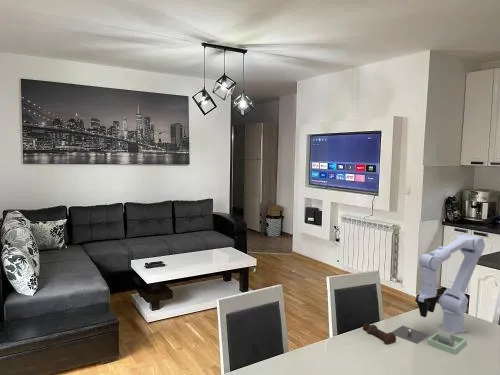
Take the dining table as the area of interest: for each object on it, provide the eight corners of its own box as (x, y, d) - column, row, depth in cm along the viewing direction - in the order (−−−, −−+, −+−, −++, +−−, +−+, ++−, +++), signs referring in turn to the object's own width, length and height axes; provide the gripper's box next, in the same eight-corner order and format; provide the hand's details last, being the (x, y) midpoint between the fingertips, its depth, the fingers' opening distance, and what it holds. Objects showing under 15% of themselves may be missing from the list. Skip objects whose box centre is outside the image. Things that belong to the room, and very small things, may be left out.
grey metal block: (453, 345, 148) (454, 329, 148) (449, 348, 146) (450, 333, 145) (442, 341, 152) (443, 326, 151) (438, 344, 149) (438, 329, 148)
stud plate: (402, 327, 165) (402, 320, 165) (429, 337, 156) (430, 329, 156) (389, 335, 157) (389, 328, 157) (417, 346, 148) (417, 338, 148)
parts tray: (439, 337, 156) (439, 330, 156) (466, 346, 149) (466, 339, 148) (427, 346, 148) (427, 339, 148) (454, 357, 140) (455, 349, 140)
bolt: (366, 334, 162) (392, 349, 149) (358, 330, 160) (385, 345, 147) (371, 322, 163) (398, 335, 150) (363, 318, 161) (390, 331, 148)
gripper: (425, 277, 162) (424, 306, 163) (411, 284, 152) (410, 315, 153) (442, 280, 157) (441, 311, 158) (429, 288, 147) (427, 321, 148)
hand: (427, 314), depth 155 cm, fingers open, 7 cm apart
